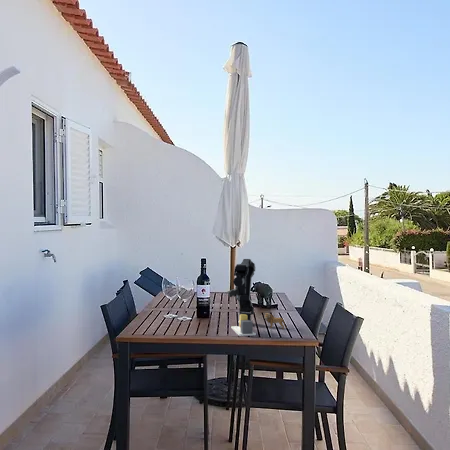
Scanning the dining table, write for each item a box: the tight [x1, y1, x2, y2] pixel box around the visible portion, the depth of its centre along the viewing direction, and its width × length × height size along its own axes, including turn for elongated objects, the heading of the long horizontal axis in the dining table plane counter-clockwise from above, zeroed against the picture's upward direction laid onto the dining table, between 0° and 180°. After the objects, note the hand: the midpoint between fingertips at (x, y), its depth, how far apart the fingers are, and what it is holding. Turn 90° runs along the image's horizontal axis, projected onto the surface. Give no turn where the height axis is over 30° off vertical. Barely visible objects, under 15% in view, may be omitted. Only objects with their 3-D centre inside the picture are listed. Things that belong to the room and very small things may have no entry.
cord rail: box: [230, 319, 257, 337], centre depth 286 cm, size 22×10×8 cm, turn 11°
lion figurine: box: [264, 312, 288, 330], centre depth 298 cm, size 15×5×9 cm, turn 71°
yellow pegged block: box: [238, 313, 248, 327], centre depth 285 cm, size 4×4×8 cm
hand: (241, 309), depth 293 cm, fingers closed
